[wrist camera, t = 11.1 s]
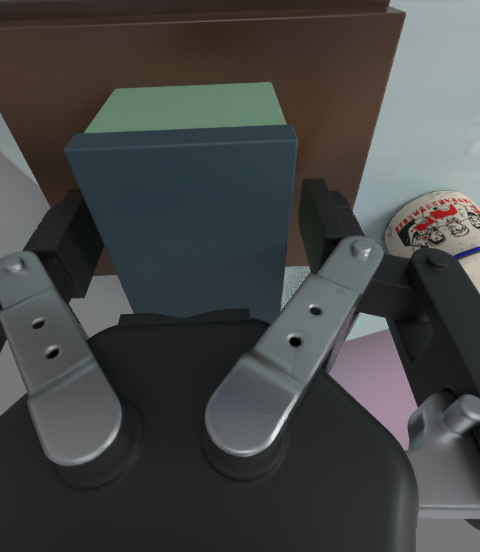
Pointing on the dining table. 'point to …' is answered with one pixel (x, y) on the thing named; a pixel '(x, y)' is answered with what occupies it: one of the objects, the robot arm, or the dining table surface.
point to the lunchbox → (191, 195)
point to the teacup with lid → (439, 229)
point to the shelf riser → (199, 75)
